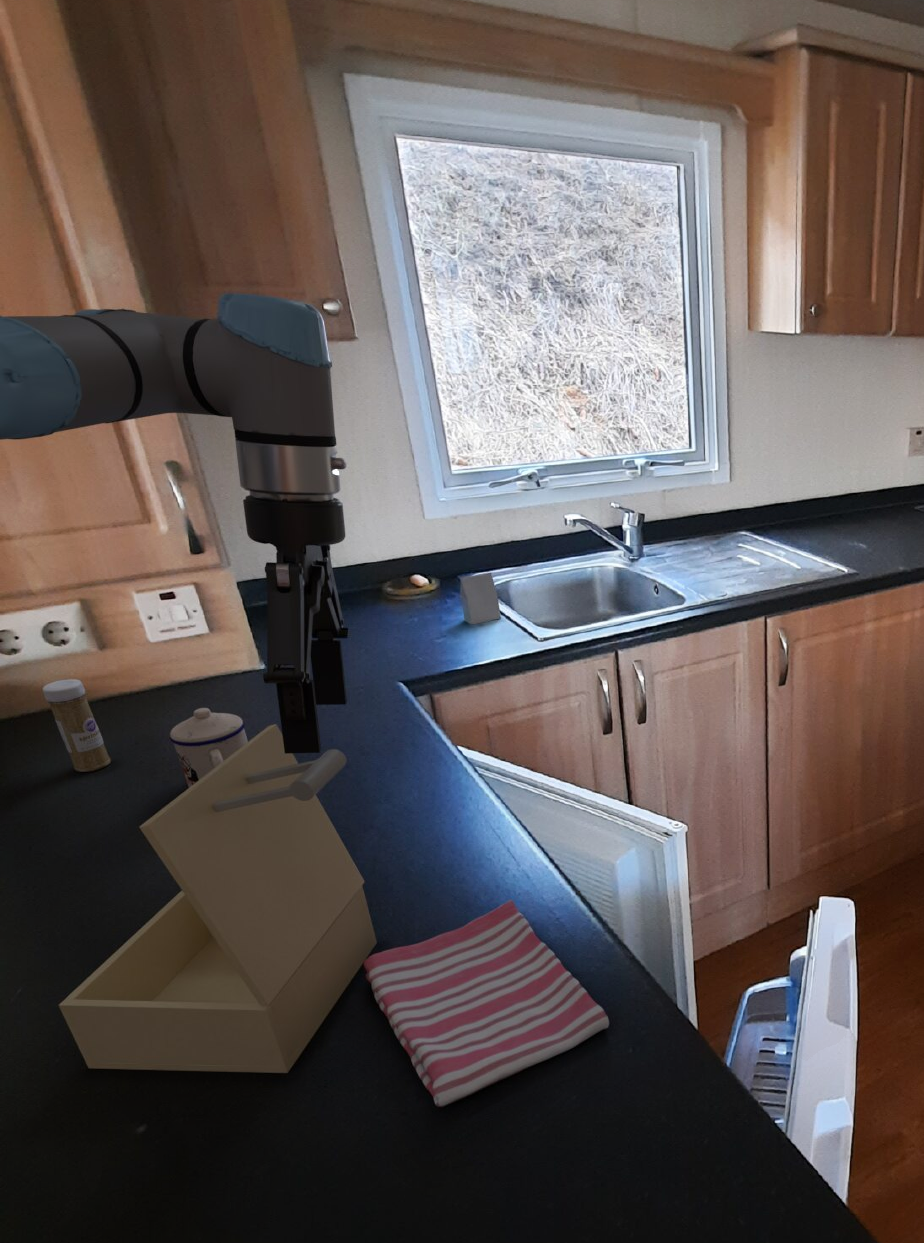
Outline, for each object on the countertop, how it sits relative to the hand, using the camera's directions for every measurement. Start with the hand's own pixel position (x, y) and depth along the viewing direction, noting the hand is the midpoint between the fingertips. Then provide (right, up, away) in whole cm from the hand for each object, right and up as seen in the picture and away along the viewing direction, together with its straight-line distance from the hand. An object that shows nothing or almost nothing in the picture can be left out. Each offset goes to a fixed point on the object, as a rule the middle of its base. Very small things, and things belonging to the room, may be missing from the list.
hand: (318, 726), depth 84 cm
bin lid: (-4, -12, -1) cm, 13 cm away
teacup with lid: (-39, -8, +45) cm, 60 cm away
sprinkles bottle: (-62, -5, +50) cm, 79 cm away
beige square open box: (-11, -28, +7) cm, 31 cm away
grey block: (-26, +26, +113) cm, 118 cm away
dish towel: (+13, -29, +7) cm, 32 cm away
